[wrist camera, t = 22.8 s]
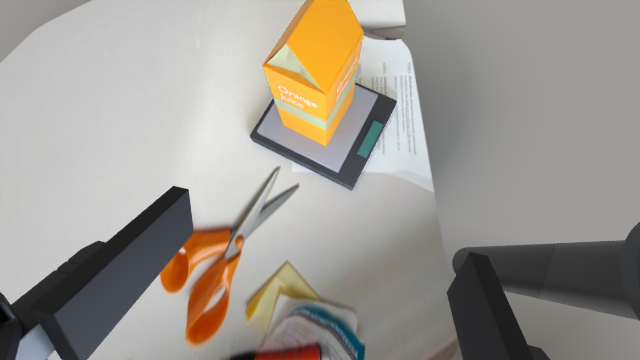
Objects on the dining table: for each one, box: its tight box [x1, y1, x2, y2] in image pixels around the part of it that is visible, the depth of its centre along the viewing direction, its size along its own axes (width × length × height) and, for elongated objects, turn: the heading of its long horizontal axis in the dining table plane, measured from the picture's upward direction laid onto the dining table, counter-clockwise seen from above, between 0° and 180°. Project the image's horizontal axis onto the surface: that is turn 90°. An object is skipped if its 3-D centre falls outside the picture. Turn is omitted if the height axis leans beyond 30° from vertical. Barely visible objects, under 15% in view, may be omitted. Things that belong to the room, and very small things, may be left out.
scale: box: [250, 83, 397, 190], centre depth 46 cm, size 18×16×3 cm
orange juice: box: [263, 0, 364, 147], centre depth 35 cm, size 8×9×20 cm
